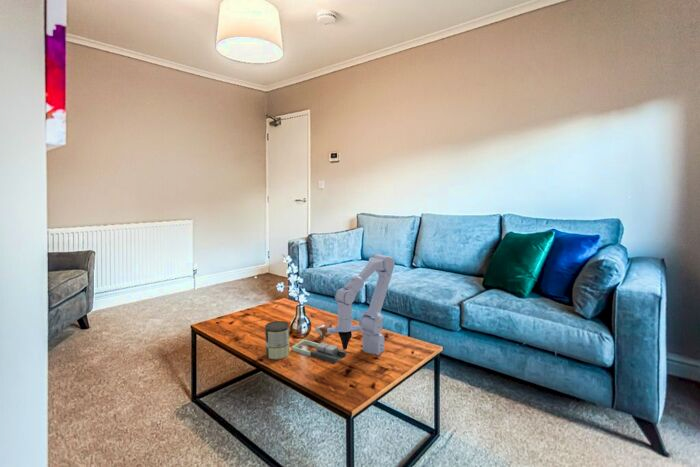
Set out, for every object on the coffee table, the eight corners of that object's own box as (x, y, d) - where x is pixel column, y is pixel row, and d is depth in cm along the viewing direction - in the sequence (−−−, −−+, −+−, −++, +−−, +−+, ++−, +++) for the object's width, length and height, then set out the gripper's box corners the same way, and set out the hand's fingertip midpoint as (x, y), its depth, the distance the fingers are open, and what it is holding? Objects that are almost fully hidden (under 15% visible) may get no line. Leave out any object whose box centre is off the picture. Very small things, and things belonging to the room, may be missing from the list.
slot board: (346, 356, 162) (346, 351, 161) (334, 365, 154) (334, 359, 154) (322, 349, 169) (322, 344, 168) (310, 357, 161) (310, 351, 161)
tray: (322, 349, 169) (322, 344, 168) (310, 357, 161) (310, 352, 161) (304, 344, 174) (304, 339, 174) (291, 351, 167) (291, 346, 166)
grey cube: (337, 355, 161) (337, 346, 161) (332, 359, 158) (332, 350, 157) (330, 353, 163) (330, 344, 163) (324, 356, 160) (324, 348, 159)
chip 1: (329, 353, 163) (329, 344, 163) (324, 356, 160) (323, 347, 160) (322, 351, 166) (322, 342, 165) (316, 354, 162) (316, 345, 162)
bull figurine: (312, 342, 176) (312, 326, 175) (327, 333, 188) (327, 317, 187) (320, 344, 174) (320, 328, 173) (334, 334, 186) (334, 319, 185)
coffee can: (260, 356, 162) (260, 325, 160) (279, 348, 170) (278, 319, 168) (276, 363, 155) (275, 331, 154) (294, 355, 163) (294, 324, 162)
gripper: (359, 313, 160) (359, 343, 161) (326, 315, 157) (326, 346, 158) (363, 318, 153) (363, 349, 155) (328, 321, 150) (328, 353, 151)
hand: (344, 348), depth 156 cm, fingers closed
